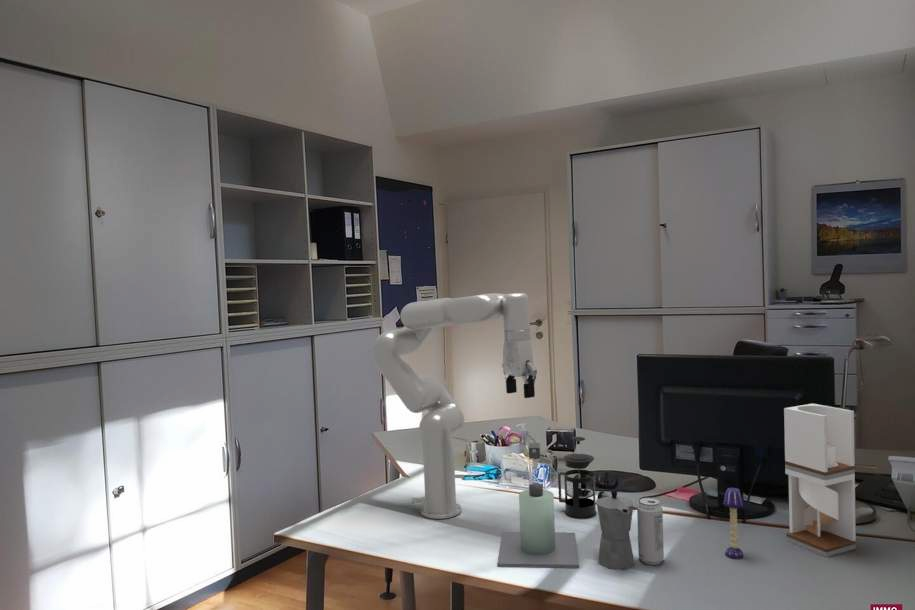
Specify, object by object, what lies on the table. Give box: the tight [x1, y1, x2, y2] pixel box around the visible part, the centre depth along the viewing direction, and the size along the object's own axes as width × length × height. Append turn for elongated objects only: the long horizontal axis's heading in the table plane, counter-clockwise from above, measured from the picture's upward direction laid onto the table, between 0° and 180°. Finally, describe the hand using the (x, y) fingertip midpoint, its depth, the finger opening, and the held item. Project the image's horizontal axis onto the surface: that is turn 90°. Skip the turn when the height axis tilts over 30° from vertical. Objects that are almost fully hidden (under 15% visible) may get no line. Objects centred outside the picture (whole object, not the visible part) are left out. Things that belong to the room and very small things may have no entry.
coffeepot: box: [595, 489, 636, 570], centre depth 163 cm, size 15×9×18 cm, turn 13°
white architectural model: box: [783, 403, 857, 558], centre depth 167 cm, size 11×11×35 cm
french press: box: [557, 436, 598, 520], centre depth 196 cm, size 12×9×23 cm
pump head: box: [528, 442, 541, 470], centre depth 168 cm, size 3×8×6 cm, turn 173°
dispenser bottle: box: [496, 482, 580, 569], centre depth 171 cm, size 20×20×17 cm
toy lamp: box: [723, 487, 745, 560], centre depth 163 cm, size 5×5×17 cm
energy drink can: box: [636, 497, 665, 566], centre depth 162 cm, size 6×6×15 cm
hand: (520, 395), depth 188 cm, fingers open, 9 cm apart
